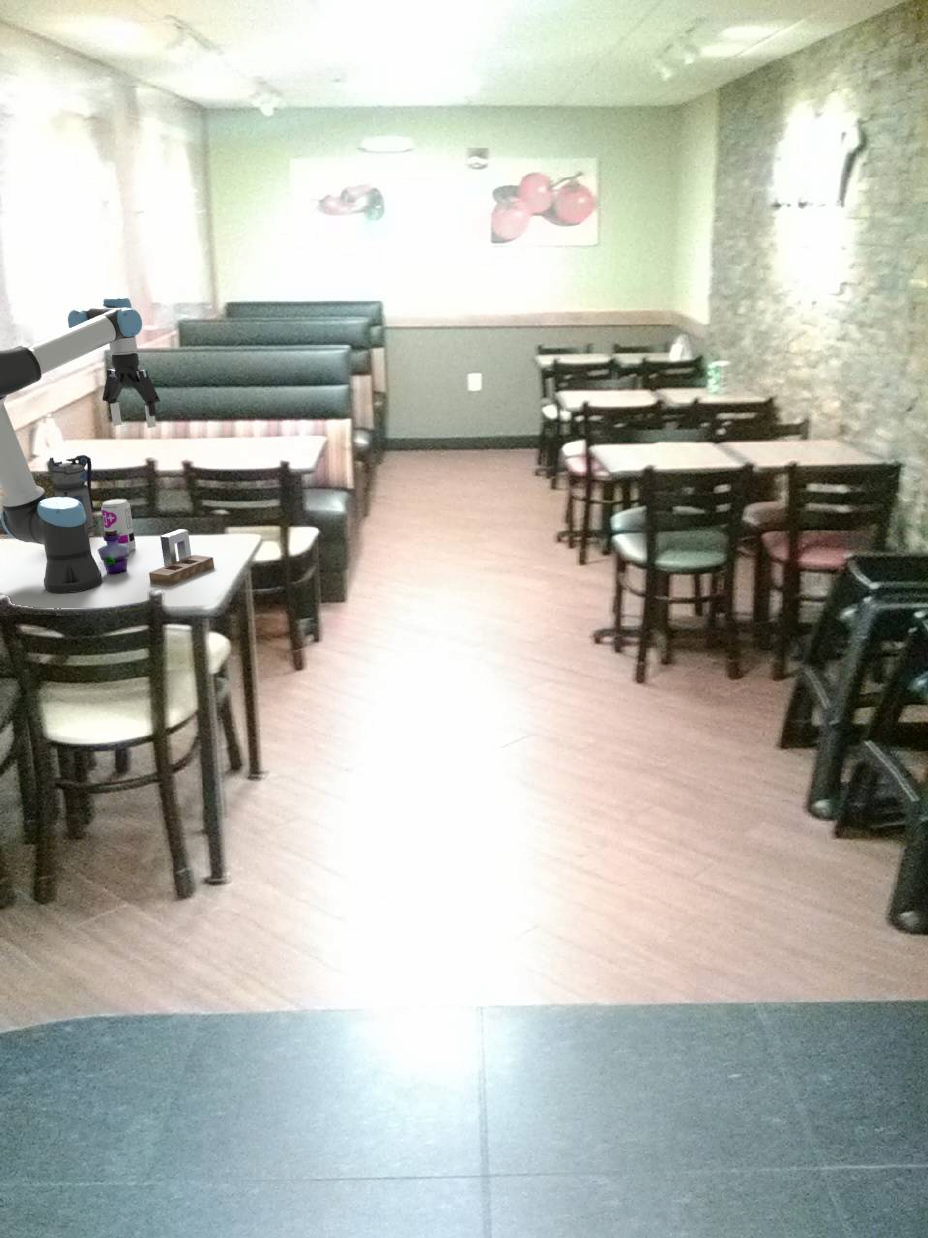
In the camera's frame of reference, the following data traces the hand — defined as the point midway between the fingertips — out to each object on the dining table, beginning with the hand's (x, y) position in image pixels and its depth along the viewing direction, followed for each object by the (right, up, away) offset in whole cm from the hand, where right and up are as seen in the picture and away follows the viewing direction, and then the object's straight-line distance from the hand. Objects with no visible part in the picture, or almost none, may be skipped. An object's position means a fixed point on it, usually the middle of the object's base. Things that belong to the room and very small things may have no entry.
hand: (134, 426), depth 338 cm
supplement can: (-6, -36, +7) cm, 37 cm away
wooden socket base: (+19, -45, -21) cm, 53 cm away
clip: (+16, -41, -11) cm, 46 cm away
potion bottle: (-1, -43, -14) cm, 46 cm away
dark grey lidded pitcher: (-26, -29, +30) cm, 49 cm away
